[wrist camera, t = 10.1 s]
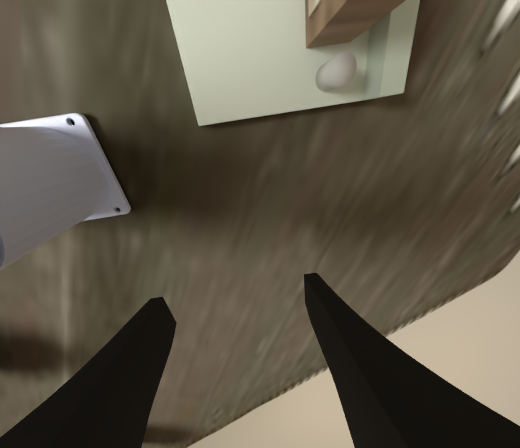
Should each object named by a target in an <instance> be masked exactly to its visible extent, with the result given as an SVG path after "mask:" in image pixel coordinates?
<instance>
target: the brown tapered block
mask: <svg viewBox="0 0 520 448" xmlns="http://www.w3.org/2000/svg"><path fill="white" fill-rule="evenodd" d="M404 1H406V0H305V29H306V48H313V47H320V46H327V45H334V44H341V43H348V42H351V41H352V40H354V39H355V38H356V37H358V36H359V35H360V34H362V33H363V32H364V31H366V30H367V29H368V28H370V27H371V26H372V25H374V24H375V23H376V22H378V21H379V20H380V19H382V18H383V17H384V16H386V15H387V14H388V13H390V12H391V11H392V10H394V9H395V8H396V7H398V6H399V5H400V4H402V3H403V2H404Z"/></svg>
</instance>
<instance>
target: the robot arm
mask: <svg viewBox="0 0 520 448" xmlns="http://www.w3.org/2000/svg"><path fill="white" fill-rule="evenodd" d="M71 119H73V120H74V122H75V125H73V124H72V123H71V121H70V120H71ZM117 207H118V208H119V209H120V210H121V211H119V210H117ZM130 211H131V207H130V205H129V203H128V201H127V199H126V197H125V195H124V193H123V191H122V188H121V186H120V184H119V182H118V180H117V178H116V176H115V174H114V172H113V170H112V168H111V166H110V164H109V162H108V160H107V158H106V156H105V154H104V152H103V150H102V148H101V146H100V144H99V142H98V140H97V138H96V136H95V134H94V132H93V130H92V128H91V125H90V123H89V121H88V120H87V118H86V117H85V116H84V115H82V114H80V113H71V114H65V115H58V116H52V117H45V118H39V119H32V120H25V121H19V122H12V123H6V124H0V271H1V270H2V269H4V268H6V267H7V266H9V265H11V264H12V263H14V262H16V261H17V260H19V259H20V258H22V257H24V256H25V255H27V254H29V253H30V252H32V251H34V250H35V249H37V248H39V247H40V246H42V245H43V244H45V243H47V242H48V241H50V240H52V239H53V238H55V237H57V236H58V235H60V234H62V233H63V232H65V231H66V230H68V229H70V228H71V227H73V226H75V225H76V224H78V223H80V222H81V221H86V220H92V219H98V218H104V217H111V216H117V215H123V214H127V213H129V212H130ZM304 286H305V304H306V307H307V311H308V314H309V318H310V321H311V324H312V327H313V329H314V332H315V334H316V337H317V339H318V342H319V344H320V347H321V349H322V352H323V354H324V357H325V359H326V362H327V364H328V367H329V369H330V372H331V374H332V377H333V380H334V382H335V385H336V389H337V392H338V395H339V398H340V401H341V404H342V408H343V411H344V414H345V417H346V421H347V424H348V427H349V430H350V434H351V437H352V440H353V443H354V447H355V448H520V426H519V425H517V424H515V423H513V422H512V421H510V420H508V419H507V418H505V417H503V416H502V415H500V414H498V413H497V412H495V411H493V410H491V409H490V408H488V407H486V406H485V405H483V404H482V403H480V402H478V401H477V400H475V399H473V398H472V397H470V396H469V395H467V394H466V393H464V392H462V391H461V390H459V389H458V388H456V387H455V386H453V385H452V384H450V383H448V382H447V381H445V380H444V379H442V378H441V377H440V376H438V375H437V374H435V373H434V372H432V371H431V370H429V369H428V368H426V367H425V366H424V365H422V364H421V363H419V362H418V361H416V360H415V359H413V358H412V357H411V356H409V355H408V354H406V353H405V352H404V351H402V350H401V349H400V348H398V347H397V346H396V345H394V344H393V343H392V342H390V341H389V340H388V339H386V338H385V337H384V336H383V335H382V334H380V333H379V332H378V331H377V330H375V329H374V328H373V327H372V326H371V325H369V324H368V323H367V322H366V321H365V320H364V319H363V318H361V317H360V316H359V315H358V314H357V313H356V312H355V311H354V310H353V309H351V308H350V307H349V306H348V305H347V304H346V303H345V302H344V301H343V300H342V299H341V298H340V297H339V296H338V295H337V294H336V293H335V292H334V291H333V290H332V289H331V288H330V287H329V286H328V285H327V284H326V282H325V281H324V280H323V279H322V278H321V277H320V276H319V275H318V274H317V273H311V274H304ZM175 328H176V321H175V319H174V317H173V315H172V314H171V312H170V310H169V308H168V306H167V304H166V302H165V300H164V298H163V297H158V298H152V299H150V300H149V301H148V302H147V303H146V304H145V305H144V306H143V307H142V308H141V309H140V310H139V311H138V312H137V313H136V314H135V315H134V316H133V317H132V318H131V319H130V320H129V321H128V323H127V324H126V325H125V326H124V327H123V328H122V329H121V330H120V331H119V332H118V333H117V334H116V335H115V336H114V337H113V338H112V339H111V340H110V341H109V342H108V343H107V344H106V345H105V346H104V347H103V348H102V349H101V350H100V351H99V352H98V353H97V354H96V355H95V356H94V357H93V358H92V359H91V360H90V361H89V362H88V363H87V364H86V365H85V366H84V367H82V368H81V369H80V370H79V371H78V372H77V373H76V374H75V375H74V376H73V377H72V378H71V379H69V380H68V381H67V382H66V383H65V384H64V385H63V386H62V387H60V388H59V389H58V390H57V391H56V392H55V393H54V394H52V395H51V396H50V397H49V398H48V399H47V400H46V401H44V402H43V403H42V404H41V405H40V406H38V407H37V408H36V409H35V410H33V411H32V412H31V413H30V414H29V415H27V416H26V417H25V418H24V419H23V420H21V421H20V422H19V423H18V424H16V425H15V426H14V427H13V428H12V429H10V430H9V431H8V432H7V433H5V434H4V435H3V436H2V437H0V448H141V446H142V442H143V438H144V434H145V430H146V426H147V422H148V418H149V414H150V411H151V407H152V404H153V401H154V398H155V395H156V392H157V389H158V386H159V383H160V380H161V377H162V374H163V371H164V368H165V365H166V362H167V359H168V356H169V353H170V350H171V346H172V343H173V338H174V333H175Z"/></svg>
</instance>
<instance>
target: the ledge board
mask: <svg viewBox="0 0 520 448" xmlns="http://www.w3.org/2000/svg"><path fill="white" fill-rule="evenodd" d="M166 1H167V5H168V9H169V13H170V17H171V21H172V24H173V28H174V32H175V36H176V40H177V44H178V48H179V52H180V56H181V59H182V63H183V67H184V71H185V75H186V79H187V83H188V87H189V91H190V94H191V98H192V102H193V106H194V110H195V114H196V118H197V122H198V126H203V125H210V124H216V123H222V122H229V121H235V120H242V119H248V118H254V117H261V116H267V115H274V114H280V113H286V112H293V111H299V110H306V109H312V108H318V107H325V106H331V105H338V104H344V103H350V102H357V101H363V100H370V99H376V98H381V97H386V96H391V95H396V94H401V93H404V88H405V82H406V76H407V71H408V65H409V60H410V54H411V48H412V43H413V37H414V31H415V26H416V20H417V14H418V9H419V3H420V0H406V1H404V2H403V3H402V4H400V5H399V6H398V7H396V8H395V9H394V10H392V11H391V12H390V13H388V14H387V15H386V16H384V17H383V18H382V19H380V20H379V21H378V22H376V23H375V24H374V25H372V26H371V27H370V28H368V29H367V30H366V31H364V32H363V33H362V34H360V35H359V36H358V37H356V38H355V39H354V40H352V41H351V42H348V43H341V44H334V45H327V46H320V47H313V48H306V29H305V0H166Z"/></svg>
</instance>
